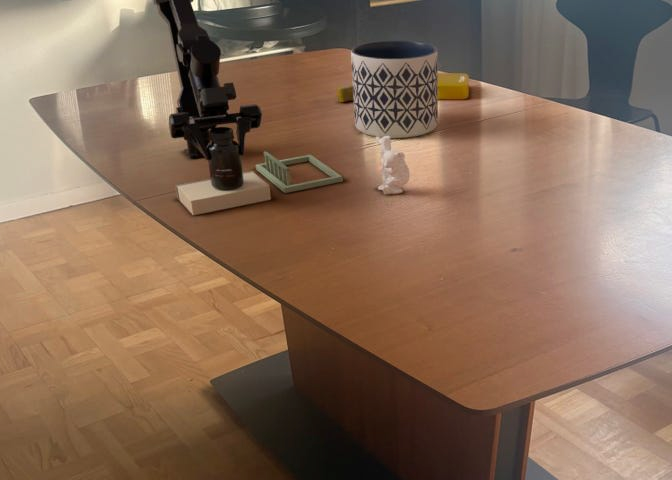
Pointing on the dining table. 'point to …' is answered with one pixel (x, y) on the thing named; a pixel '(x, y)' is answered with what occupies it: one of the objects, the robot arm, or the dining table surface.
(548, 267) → the dining table surface
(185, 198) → the cream bevelled block
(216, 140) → the supplement bottle
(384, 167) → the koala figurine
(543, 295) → the dining table surface
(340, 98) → the medication box
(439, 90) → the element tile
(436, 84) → the planter
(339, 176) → the dish rack
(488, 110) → the dining table surface
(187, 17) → the robot arm
